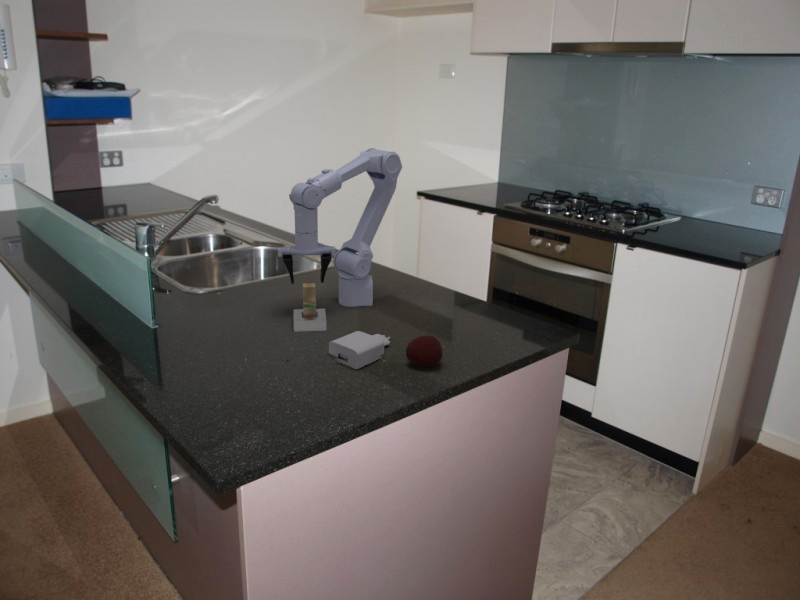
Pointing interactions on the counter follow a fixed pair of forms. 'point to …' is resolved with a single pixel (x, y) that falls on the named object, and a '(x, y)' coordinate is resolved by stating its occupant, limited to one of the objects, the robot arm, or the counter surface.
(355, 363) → the charger
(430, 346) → the potato
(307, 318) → the stand
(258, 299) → the counter surface
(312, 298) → the post
